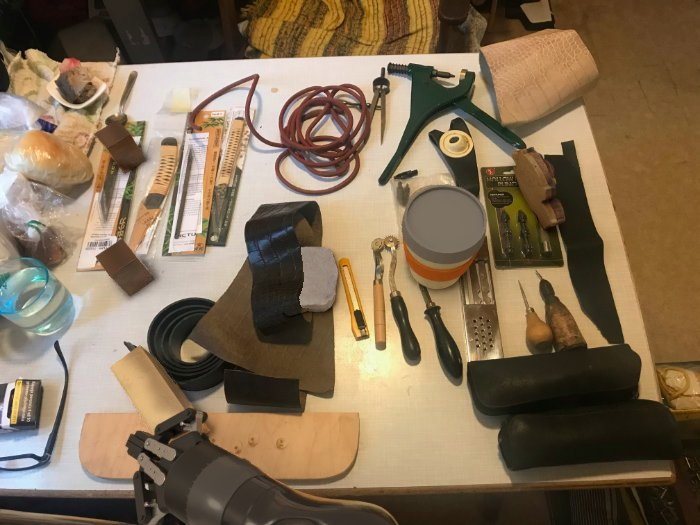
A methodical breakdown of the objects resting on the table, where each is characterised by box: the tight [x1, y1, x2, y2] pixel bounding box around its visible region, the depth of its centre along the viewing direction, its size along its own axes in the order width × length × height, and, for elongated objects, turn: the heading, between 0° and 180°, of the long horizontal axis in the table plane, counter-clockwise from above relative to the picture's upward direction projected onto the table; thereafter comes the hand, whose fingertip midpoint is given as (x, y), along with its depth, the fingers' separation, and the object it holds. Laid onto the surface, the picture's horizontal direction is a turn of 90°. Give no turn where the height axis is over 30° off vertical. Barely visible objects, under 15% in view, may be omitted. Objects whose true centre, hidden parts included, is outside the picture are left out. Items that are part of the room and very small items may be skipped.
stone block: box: [299, 246, 339, 313], centre depth 86 cm, size 12×5×10 cm
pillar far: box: [94, 119, 147, 175], centre depth 99 cm, size 5×5×8 cm
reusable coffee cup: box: [401, 184, 488, 290], centre depth 81 cm, size 13×13×15 cm
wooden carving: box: [511, 146, 566, 230], centre depth 89 cm, size 16×5×10 cm, turn 20°
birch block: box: [109, 344, 211, 443], centre depth 74 cm, size 5×14×9 cm, turn 41°
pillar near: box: [95, 238, 156, 297], centre depth 86 cm, size 5×5×8 cm
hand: (134, 440), depth 61 cm, fingers closed
